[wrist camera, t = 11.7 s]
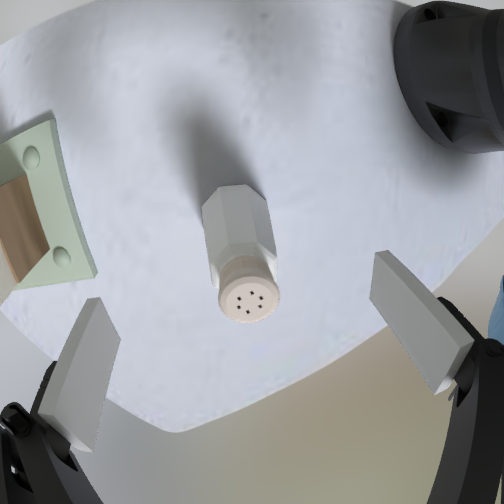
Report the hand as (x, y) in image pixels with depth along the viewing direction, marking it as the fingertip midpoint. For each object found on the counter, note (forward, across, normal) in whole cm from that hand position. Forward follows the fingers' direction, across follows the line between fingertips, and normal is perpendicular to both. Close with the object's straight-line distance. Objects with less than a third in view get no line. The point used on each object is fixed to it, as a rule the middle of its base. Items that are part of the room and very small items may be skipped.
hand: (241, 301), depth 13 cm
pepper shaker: (+11, 0, 0) cm, 11 cm away
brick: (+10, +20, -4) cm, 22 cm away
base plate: (+11, +20, -4) cm, 23 cm away
